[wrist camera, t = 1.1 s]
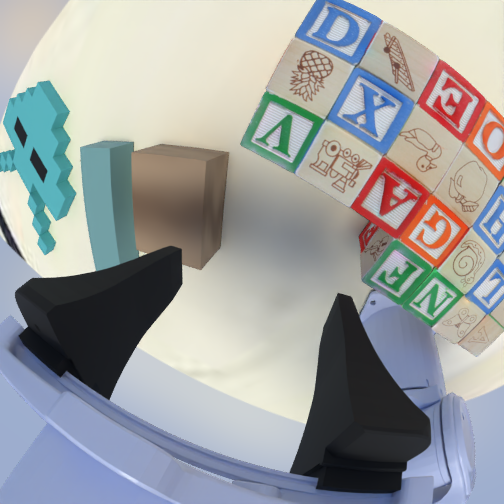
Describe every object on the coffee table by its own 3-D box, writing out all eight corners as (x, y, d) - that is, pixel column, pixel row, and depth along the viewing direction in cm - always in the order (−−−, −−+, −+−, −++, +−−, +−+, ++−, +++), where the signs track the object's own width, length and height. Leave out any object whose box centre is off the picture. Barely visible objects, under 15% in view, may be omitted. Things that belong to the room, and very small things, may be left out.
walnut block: (221, 245, 23) (200, 270, 20) (162, 229, 24) (136, 249, 21) (230, 151, 19) (206, 161, 16) (162, 143, 20) (131, 152, 17)
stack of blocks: (327, 25, 12) (249, 171, 19) (321, -13, 7) (212, 196, 14) (536, 204, 12) (456, 308, 19) (577, 237, 7) (474, 360, 14)
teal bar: (149, 325, 32) (136, 341, 29) (125, 314, 33) (111, 328, 30) (133, 142, 21) (109, 148, 18) (103, 140, 21) (80, 147, 19)
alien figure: (55, 248, 33) (101, 150, 23) (44, 255, 31) (85, 155, 21) (4, 159, 29) (37, 56, 19) (-6, 163, 27) (24, 58, 17)
